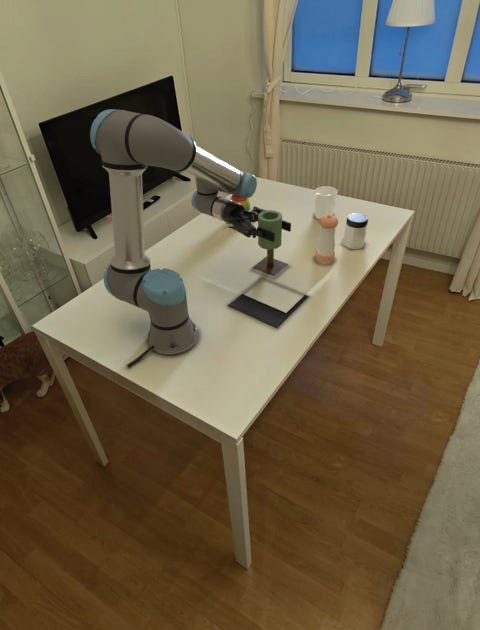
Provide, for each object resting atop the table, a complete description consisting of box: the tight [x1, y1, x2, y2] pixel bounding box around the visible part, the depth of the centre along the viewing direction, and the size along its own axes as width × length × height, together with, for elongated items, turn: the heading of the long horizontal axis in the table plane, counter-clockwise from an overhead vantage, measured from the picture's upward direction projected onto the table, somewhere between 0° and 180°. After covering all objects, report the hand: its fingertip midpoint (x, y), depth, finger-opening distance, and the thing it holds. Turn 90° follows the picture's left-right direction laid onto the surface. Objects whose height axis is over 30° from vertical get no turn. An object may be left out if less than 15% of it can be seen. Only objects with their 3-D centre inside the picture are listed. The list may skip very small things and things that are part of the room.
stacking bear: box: [229, 194, 252, 224], centre depth 190 cm, size 11×10×18 cm
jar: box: [342, 212, 369, 250], centre depth 173 cm, size 9×8×12 cm
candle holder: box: [314, 185, 338, 220], centre depth 193 cm, size 10×10×12 cm
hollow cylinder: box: [257, 209, 283, 250], centre depth 138 cm, size 7×7×10 cm
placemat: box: [228, 293, 309, 329], centre depth 150 cm, size 20×20×1 cm
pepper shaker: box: [314, 214, 339, 263], centre depth 163 cm, size 7×7×19 cm
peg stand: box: [252, 249, 289, 277], centre depth 160 cm, size 10×10×16 cm
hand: (282, 232), depth 135 cm, fingers closed on hollow cylinder, 7 cm apart
